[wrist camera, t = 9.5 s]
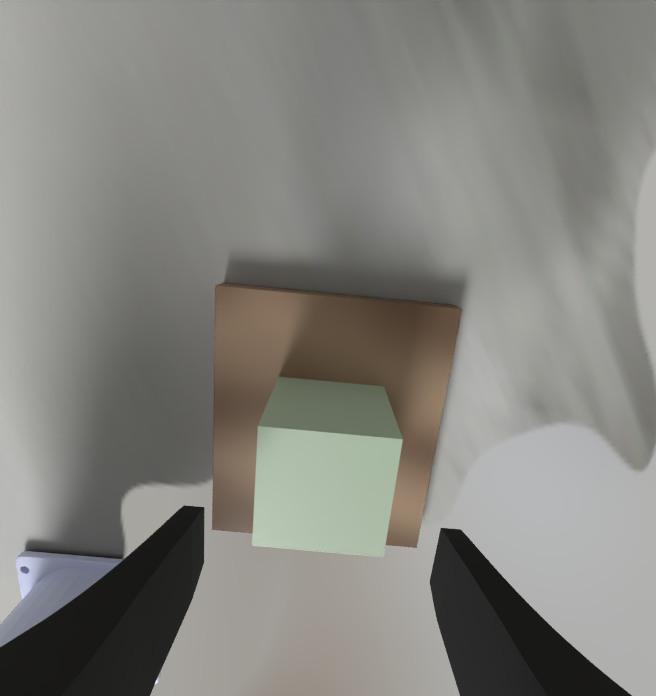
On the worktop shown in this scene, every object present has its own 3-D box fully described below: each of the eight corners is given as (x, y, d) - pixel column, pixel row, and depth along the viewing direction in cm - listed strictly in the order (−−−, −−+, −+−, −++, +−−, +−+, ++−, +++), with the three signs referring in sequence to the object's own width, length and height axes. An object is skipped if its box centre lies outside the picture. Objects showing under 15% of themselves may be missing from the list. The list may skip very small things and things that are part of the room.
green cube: (370, 478, 19) (383, 557, 14) (272, 469, 19) (252, 545, 14) (383, 386, 18) (402, 439, 13) (278, 376, 18) (257, 425, 13)
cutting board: (411, 531, 21) (416, 547, 20) (218, 514, 21) (212, 529, 20) (453, 304, 18) (462, 309, 17) (223, 283, 18) (215, 285, 17)
